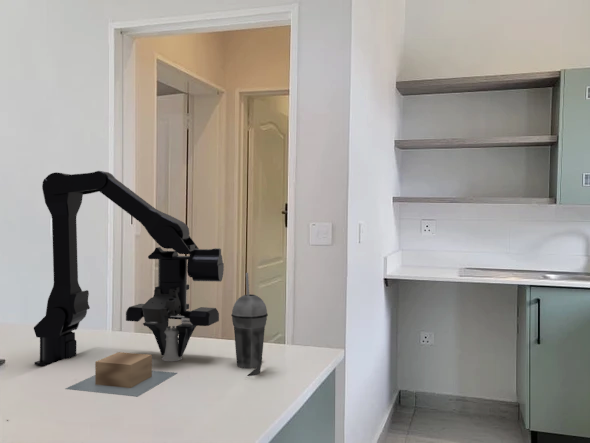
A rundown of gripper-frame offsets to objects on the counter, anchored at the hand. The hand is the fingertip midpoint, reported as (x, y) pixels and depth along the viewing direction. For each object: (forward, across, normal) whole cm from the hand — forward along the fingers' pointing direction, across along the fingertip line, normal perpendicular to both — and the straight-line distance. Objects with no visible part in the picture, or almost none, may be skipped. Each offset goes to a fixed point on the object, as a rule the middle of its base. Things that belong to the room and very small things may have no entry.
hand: (172, 355), depth 113 cm
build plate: (+2, -1, -16) cm, 16 cm away
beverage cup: (+2, +17, 0) cm, 17 cm away
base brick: (0, -1, -16) cm, 16 cm away
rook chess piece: (+2, 0, 0) cm, 2 cm away
